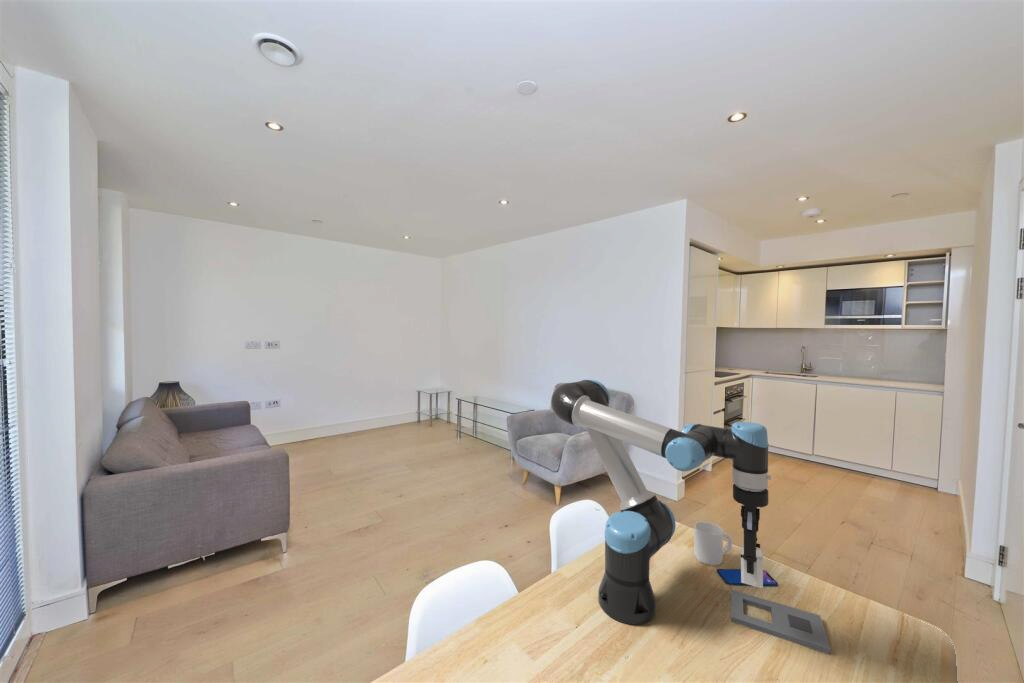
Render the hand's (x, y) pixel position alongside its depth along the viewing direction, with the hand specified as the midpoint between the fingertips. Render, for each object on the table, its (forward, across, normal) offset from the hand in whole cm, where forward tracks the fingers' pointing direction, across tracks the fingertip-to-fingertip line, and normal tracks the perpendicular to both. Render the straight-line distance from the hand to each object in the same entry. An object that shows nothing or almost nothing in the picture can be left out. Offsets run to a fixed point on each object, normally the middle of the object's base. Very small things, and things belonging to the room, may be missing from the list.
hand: (750, 578), depth 95 cm
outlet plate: (+13, +7, -5) cm, 16 cm away
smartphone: (+14, +23, +2) cm, 27 cm away
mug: (+13, +28, +11) cm, 33 cm away
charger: (0, 0, 0) cm, 0 cm away
